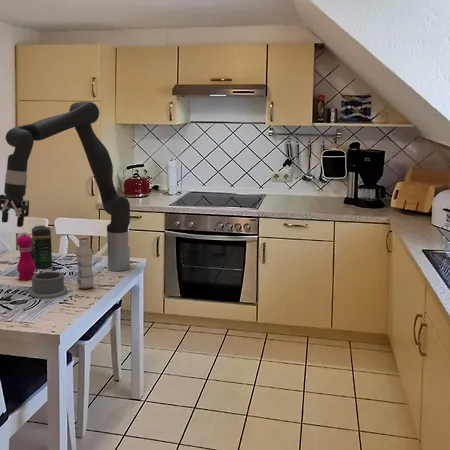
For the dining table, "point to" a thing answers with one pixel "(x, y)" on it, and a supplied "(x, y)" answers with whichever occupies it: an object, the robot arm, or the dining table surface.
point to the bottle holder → (48, 285)
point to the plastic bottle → (84, 264)
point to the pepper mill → (25, 258)
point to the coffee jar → (42, 247)
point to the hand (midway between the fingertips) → (12, 224)
